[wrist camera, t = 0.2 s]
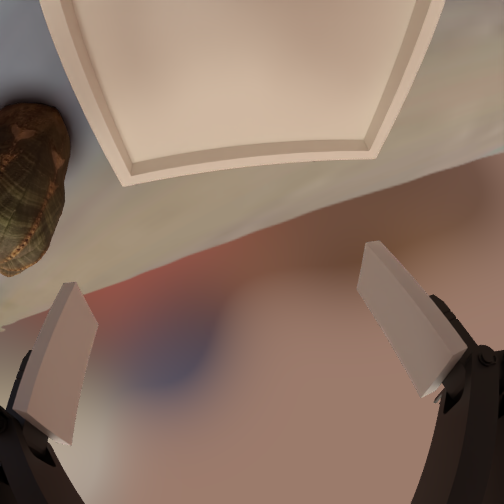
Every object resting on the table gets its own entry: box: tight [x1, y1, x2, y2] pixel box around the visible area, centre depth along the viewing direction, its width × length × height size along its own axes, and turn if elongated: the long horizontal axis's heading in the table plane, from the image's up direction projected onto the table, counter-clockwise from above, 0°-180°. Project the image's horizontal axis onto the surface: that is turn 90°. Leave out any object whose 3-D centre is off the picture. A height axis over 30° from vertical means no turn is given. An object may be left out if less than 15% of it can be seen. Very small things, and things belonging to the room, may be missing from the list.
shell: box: [0, 103, 70, 277], centre depth 14 cm, size 11×11×12 cm
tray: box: [39, 0, 445, 187], centre depth 13 cm, size 24×24×2 cm
